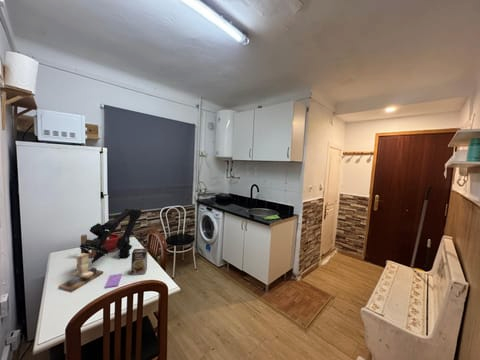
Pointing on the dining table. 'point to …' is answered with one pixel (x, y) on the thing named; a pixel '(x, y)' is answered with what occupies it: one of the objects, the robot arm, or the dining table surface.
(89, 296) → the dining table surface
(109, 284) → the sponges
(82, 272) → the oak T piece
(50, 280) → the dining table surface
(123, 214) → the robot arm
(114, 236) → the plant pot
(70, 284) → the stand
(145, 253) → the coffee box
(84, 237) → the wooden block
